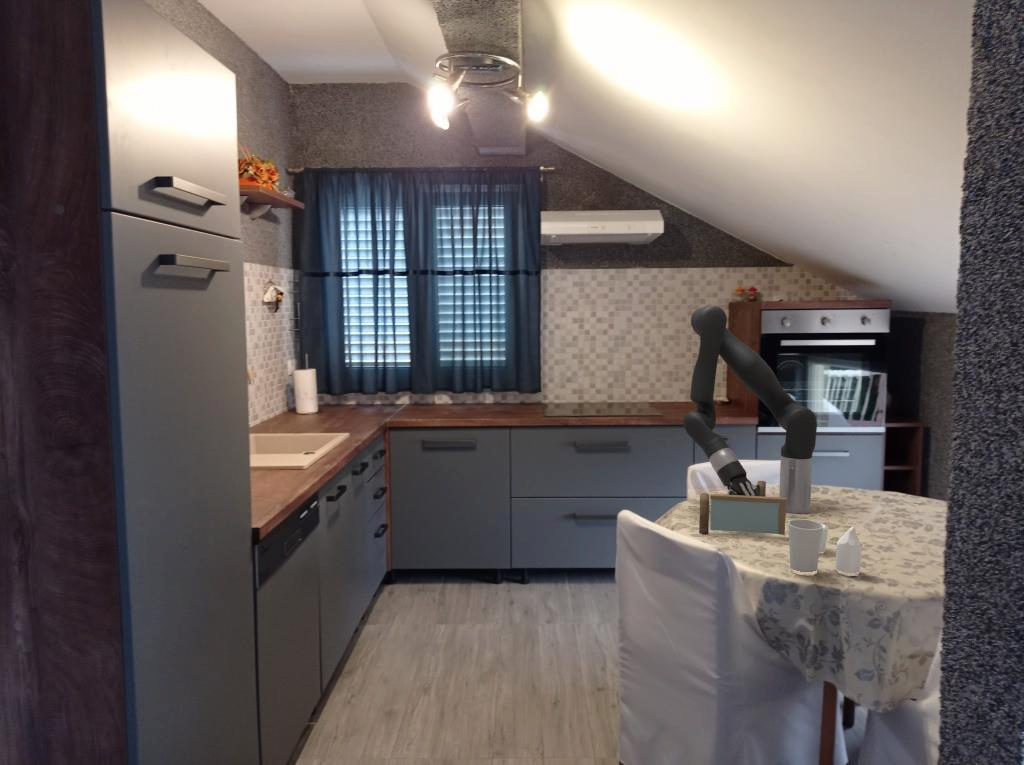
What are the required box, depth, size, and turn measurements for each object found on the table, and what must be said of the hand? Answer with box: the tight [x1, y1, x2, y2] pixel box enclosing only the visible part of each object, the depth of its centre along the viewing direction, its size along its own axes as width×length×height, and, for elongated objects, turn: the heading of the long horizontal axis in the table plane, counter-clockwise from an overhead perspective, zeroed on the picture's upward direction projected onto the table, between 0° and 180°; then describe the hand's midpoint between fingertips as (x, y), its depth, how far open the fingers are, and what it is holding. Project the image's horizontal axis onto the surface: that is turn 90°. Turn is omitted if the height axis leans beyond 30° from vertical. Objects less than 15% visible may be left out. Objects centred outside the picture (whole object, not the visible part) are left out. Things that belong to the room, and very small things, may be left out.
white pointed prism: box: [834, 525, 863, 573], centre depth 172 cm, size 6×12×6 cm
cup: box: [787, 518, 823, 572], centre depth 173 cm, size 8×8×12 cm
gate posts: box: [698, 480, 767, 535], centre depth 207 cm, size 27×3×11 cm, turn 121°
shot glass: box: [819, 522, 829, 553], centre depth 187 cm, size 7×7×7 cm
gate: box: [709, 493, 787, 536], centre depth 198 cm, size 20×2×10 cm, turn 77°
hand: (759, 517), depth 200 cm, fingers closed
